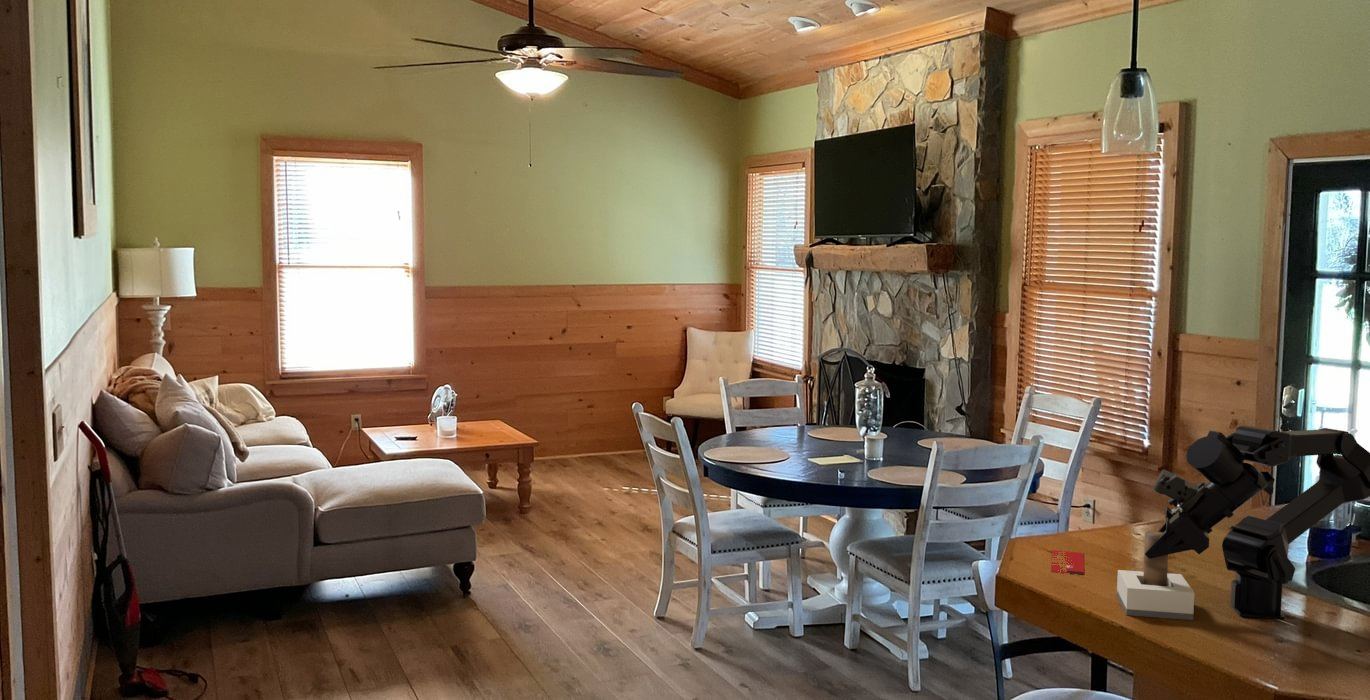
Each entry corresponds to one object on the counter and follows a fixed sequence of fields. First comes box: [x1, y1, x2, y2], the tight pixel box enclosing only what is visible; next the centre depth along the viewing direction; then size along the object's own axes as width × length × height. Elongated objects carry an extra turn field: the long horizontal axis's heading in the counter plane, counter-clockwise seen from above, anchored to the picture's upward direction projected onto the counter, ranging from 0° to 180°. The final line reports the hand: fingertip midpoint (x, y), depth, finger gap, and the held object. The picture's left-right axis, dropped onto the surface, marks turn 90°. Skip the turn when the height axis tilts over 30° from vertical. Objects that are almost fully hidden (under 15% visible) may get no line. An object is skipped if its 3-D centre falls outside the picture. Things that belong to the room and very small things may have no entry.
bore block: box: [1116, 569, 1195, 621], centre depth 177 cm, size 10×10×4 cm
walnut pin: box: [1143, 530, 1169, 586], centre depth 177 cm, size 4×4×10 cm
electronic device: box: [1050, 549, 1085, 576], centre depth 203 cm, size 6×1×15 cm
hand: (1146, 553), depth 177 cm, fingers closed on walnut pin, 4 cm apart
